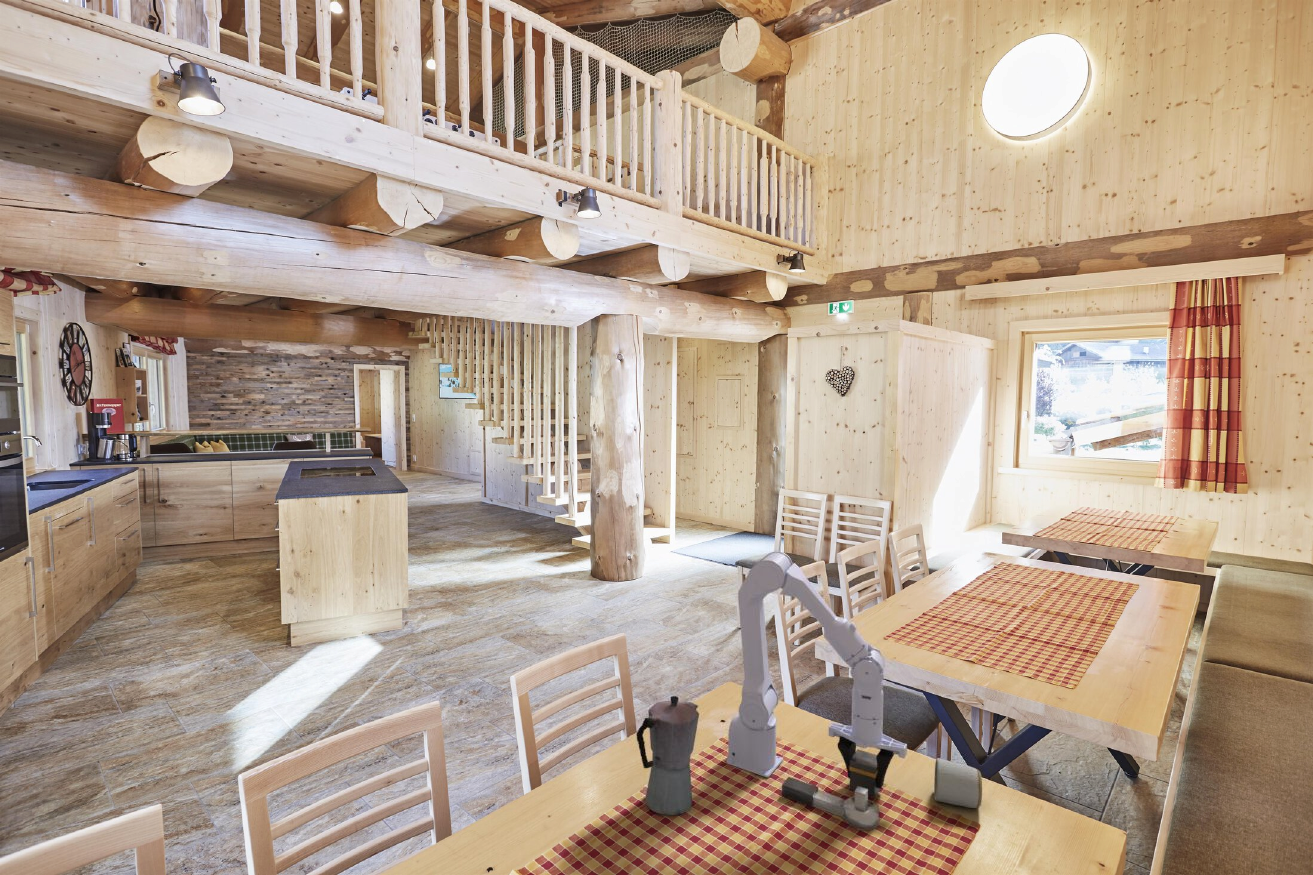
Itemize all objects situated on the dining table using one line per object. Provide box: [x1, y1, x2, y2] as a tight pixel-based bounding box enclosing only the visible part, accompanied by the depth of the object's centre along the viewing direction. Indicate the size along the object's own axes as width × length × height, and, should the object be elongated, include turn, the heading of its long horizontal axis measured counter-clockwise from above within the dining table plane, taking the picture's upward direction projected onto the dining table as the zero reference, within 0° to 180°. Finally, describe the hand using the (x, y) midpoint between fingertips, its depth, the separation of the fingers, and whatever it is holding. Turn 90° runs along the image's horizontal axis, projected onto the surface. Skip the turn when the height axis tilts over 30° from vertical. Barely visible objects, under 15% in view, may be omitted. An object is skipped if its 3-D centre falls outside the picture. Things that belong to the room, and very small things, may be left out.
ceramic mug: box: [933, 757, 983, 809], centre depth 121 cm, size 10×8×7 cm
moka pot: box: [635, 695, 700, 816], centre depth 118 cm, size 10×15×20 cm, turn 137°
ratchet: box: [781, 776, 880, 831], centre depth 118 cm, size 18×6×5 cm, turn 56°
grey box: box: [849, 748, 881, 800], centre depth 124 cm, size 5×5×6 cm
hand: (865, 781), depth 124 cm, fingers closed on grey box, 5 cm apart
